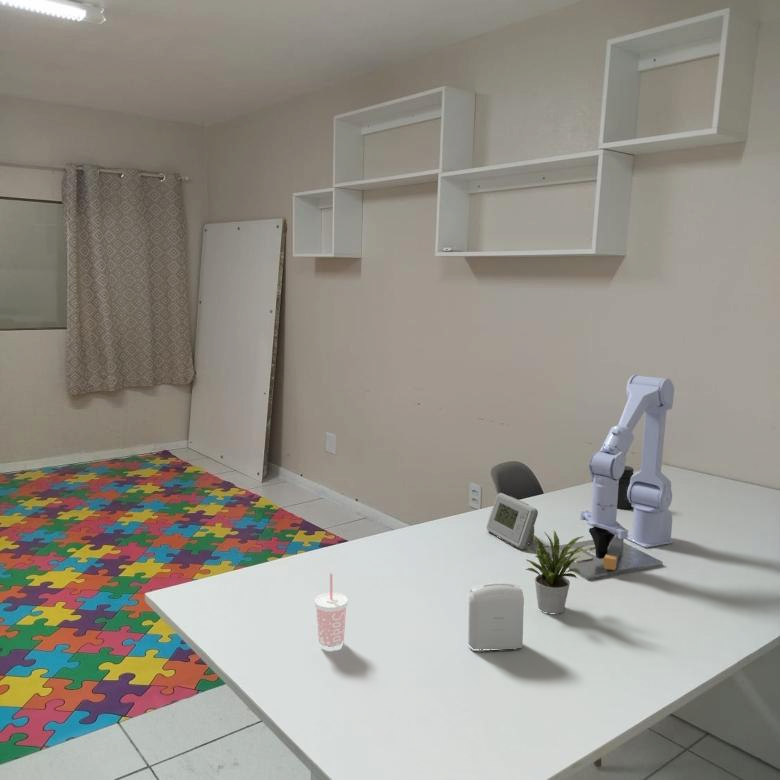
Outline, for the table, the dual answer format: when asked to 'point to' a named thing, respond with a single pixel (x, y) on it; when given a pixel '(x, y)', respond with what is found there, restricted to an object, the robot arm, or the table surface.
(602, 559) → the grey lever board
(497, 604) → the photo printer
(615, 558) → the swing bar
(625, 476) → the supplement bottle
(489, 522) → the digital clock
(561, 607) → the house plant
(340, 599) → the beverage cup
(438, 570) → the table surface
